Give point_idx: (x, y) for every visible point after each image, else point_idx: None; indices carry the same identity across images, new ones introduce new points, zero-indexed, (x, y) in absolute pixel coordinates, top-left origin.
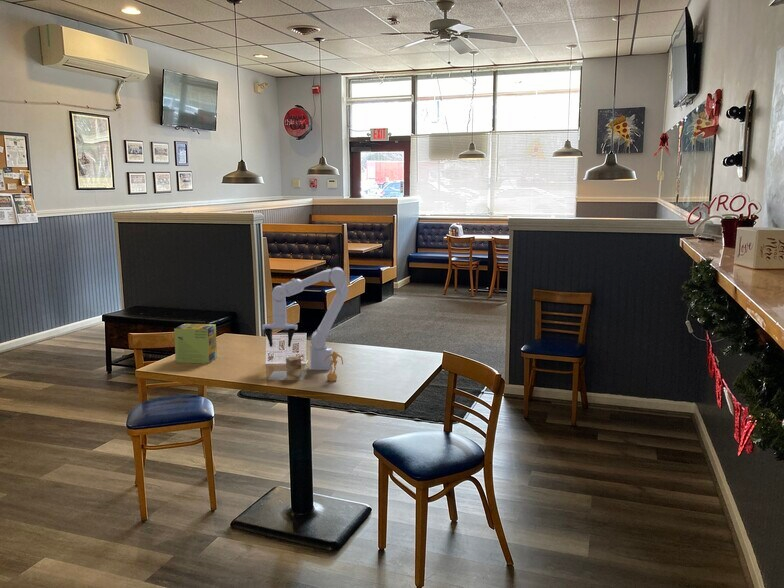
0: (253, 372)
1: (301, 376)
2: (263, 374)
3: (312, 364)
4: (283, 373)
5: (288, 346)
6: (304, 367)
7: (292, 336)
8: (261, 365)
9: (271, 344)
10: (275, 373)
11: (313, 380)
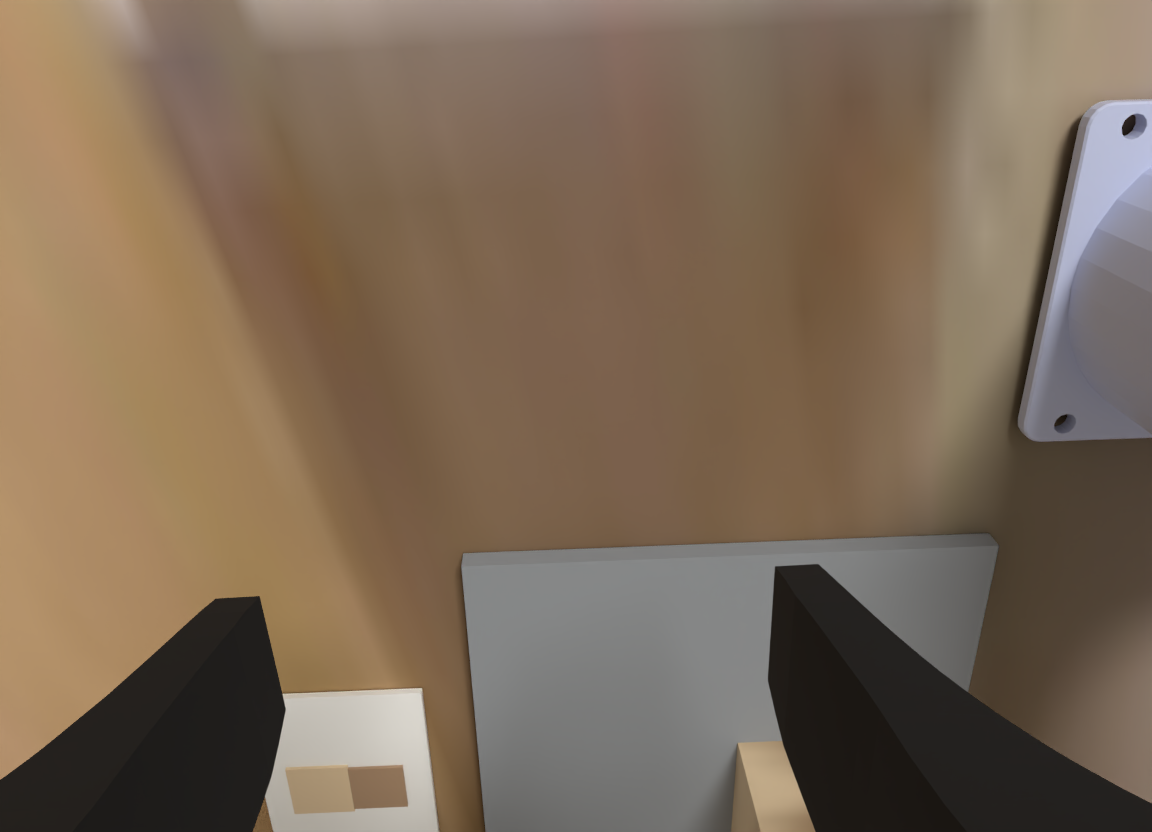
0: (140, 568)
1: None
2: (337, 643)
3: (1139, 423)
4: (642, 661)
5: (777, 690)
6: (945, 244)
7: (1026, 759)
8: (77, 156)
9: (270, 769)
10: (522, 667)
11: None
